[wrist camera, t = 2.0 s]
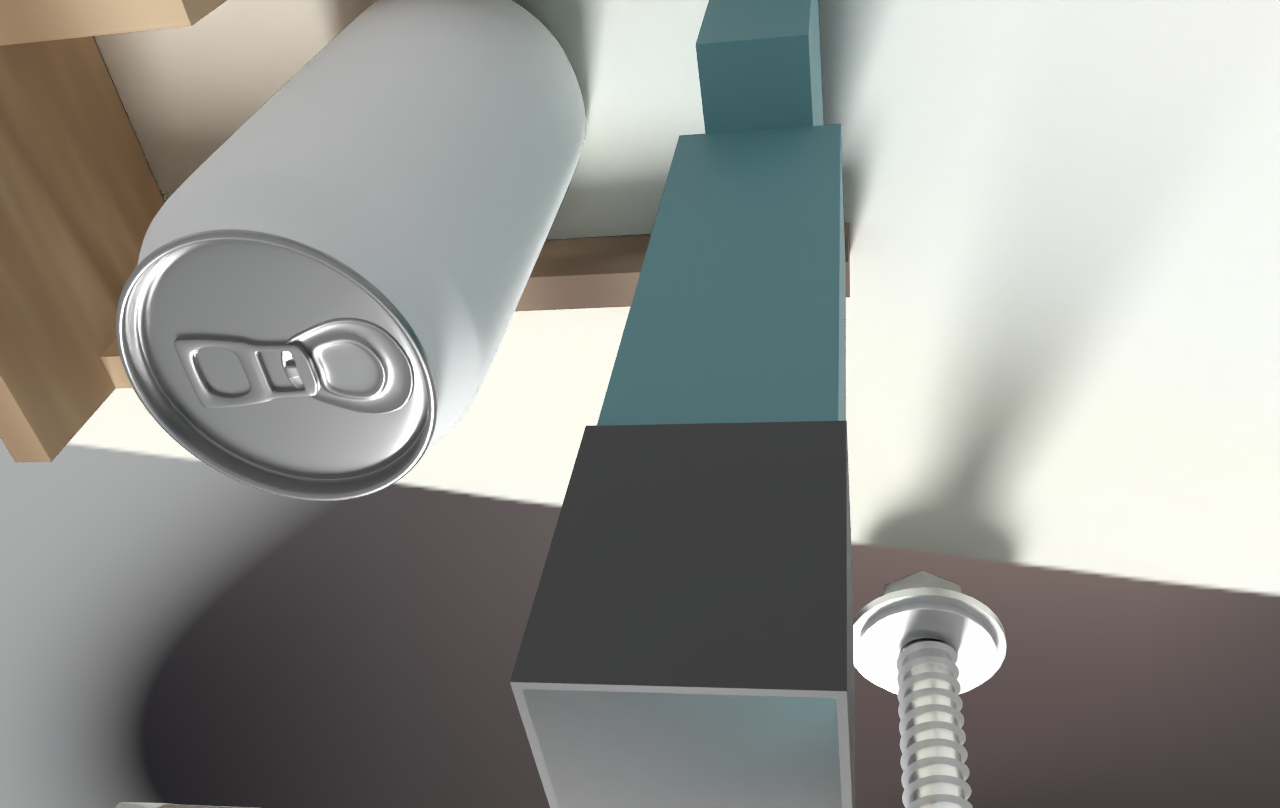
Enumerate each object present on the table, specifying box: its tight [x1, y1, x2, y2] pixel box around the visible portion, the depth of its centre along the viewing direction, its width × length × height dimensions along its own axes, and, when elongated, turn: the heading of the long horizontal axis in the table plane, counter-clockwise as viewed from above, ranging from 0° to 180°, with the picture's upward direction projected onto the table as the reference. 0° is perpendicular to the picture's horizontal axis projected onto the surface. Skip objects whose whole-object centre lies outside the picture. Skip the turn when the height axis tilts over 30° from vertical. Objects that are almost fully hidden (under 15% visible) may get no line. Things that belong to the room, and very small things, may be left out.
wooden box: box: [0, 0, 850, 462], centre depth 25 cm, size 20×10×8 cm, turn 98°
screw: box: [854, 570, 1006, 808], centre depth 31 cm, size 13×5×5 cm
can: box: [116, 0, 586, 501], centre depth 24 cm, size 6×6×12 cm
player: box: [510, 0, 855, 808], centre depth 19 cm, size 3×6×19 cm, turn 8°
